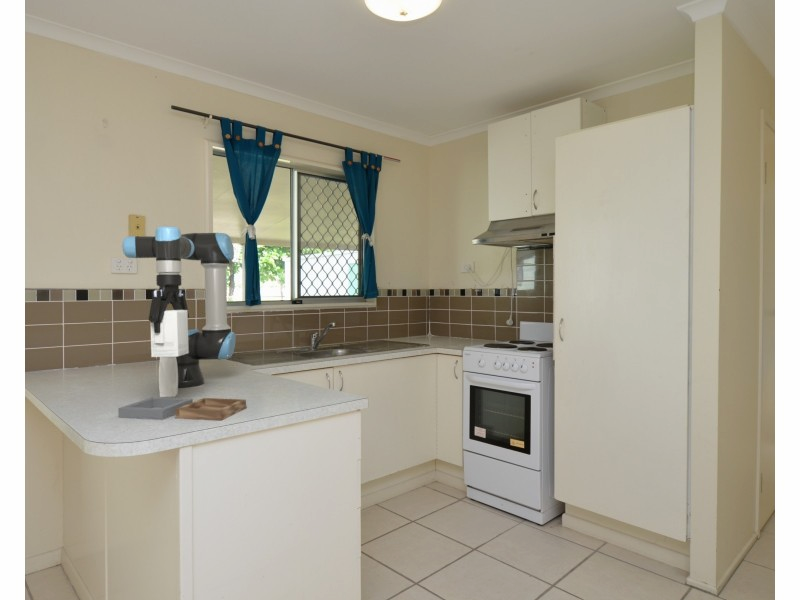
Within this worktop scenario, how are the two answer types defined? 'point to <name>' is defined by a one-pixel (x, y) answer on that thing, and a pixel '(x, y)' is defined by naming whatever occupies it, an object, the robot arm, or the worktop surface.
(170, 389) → the skyscraper
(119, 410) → the gray square tray
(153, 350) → the supplement box
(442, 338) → the worktop surface
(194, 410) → the tray
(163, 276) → the robot arm
